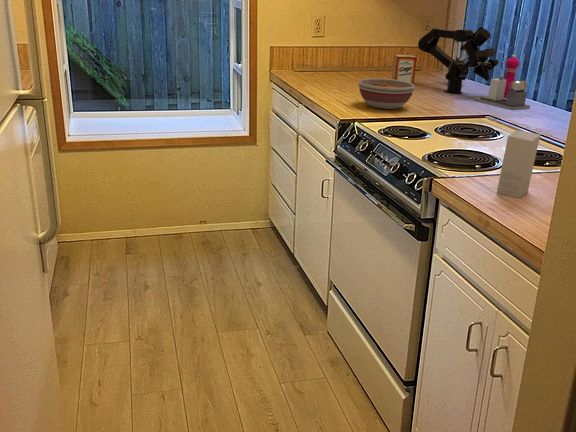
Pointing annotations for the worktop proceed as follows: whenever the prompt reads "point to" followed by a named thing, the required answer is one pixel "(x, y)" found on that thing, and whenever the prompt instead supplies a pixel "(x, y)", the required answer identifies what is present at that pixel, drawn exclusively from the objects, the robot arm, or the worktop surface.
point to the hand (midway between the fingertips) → (488, 80)
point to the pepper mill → (510, 72)
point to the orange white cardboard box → (404, 68)
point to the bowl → (385, 92)
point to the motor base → (510, 97)
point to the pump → (497, 88)
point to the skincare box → (518, 163)
